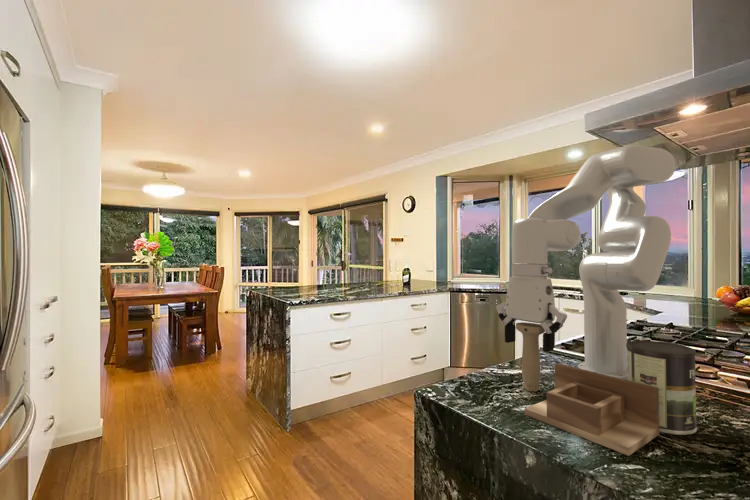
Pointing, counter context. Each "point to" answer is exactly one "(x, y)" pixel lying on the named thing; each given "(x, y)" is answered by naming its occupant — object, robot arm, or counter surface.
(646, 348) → the coffee can
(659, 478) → the counter surface
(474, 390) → the counter surface
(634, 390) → the wooden box holder
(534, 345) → the handle
